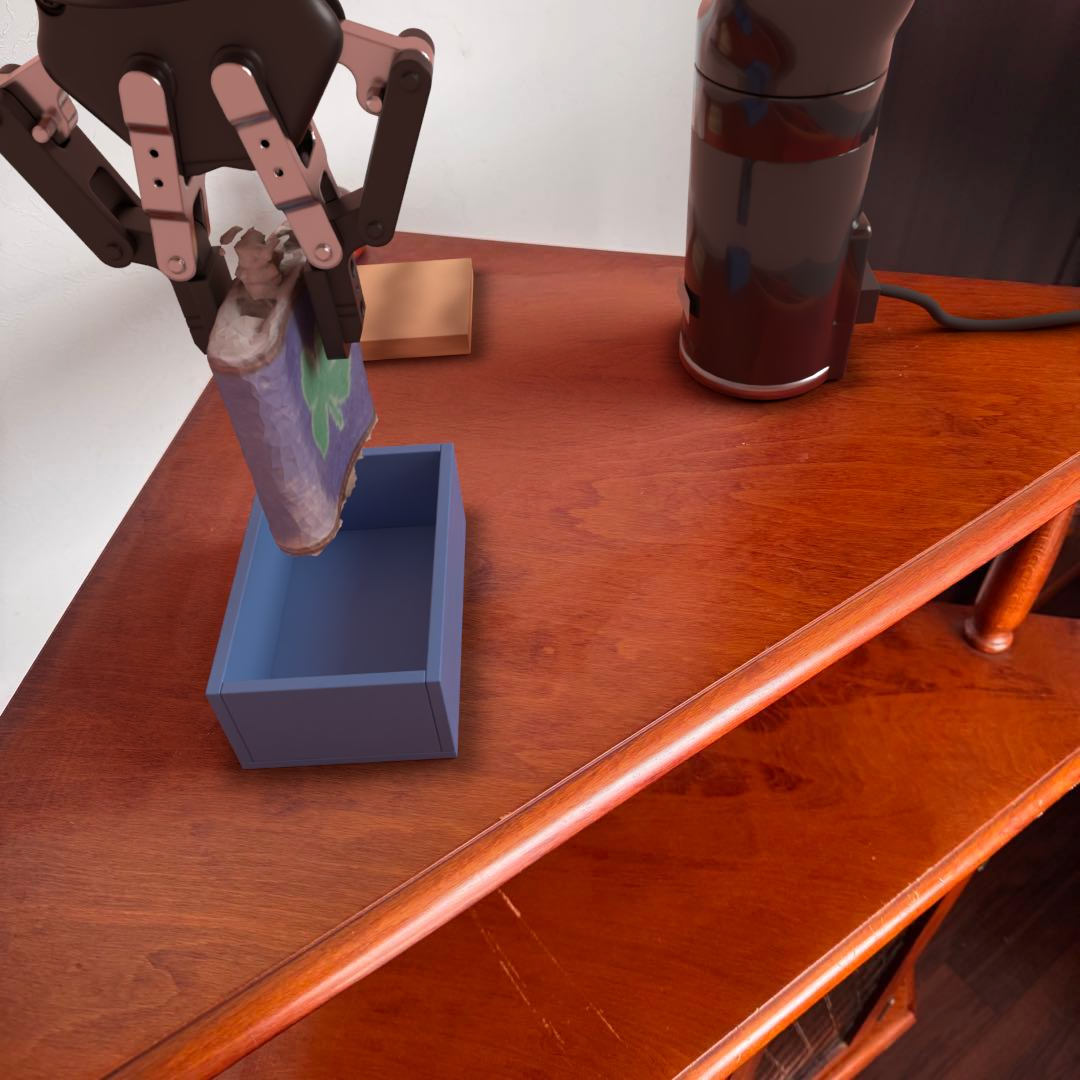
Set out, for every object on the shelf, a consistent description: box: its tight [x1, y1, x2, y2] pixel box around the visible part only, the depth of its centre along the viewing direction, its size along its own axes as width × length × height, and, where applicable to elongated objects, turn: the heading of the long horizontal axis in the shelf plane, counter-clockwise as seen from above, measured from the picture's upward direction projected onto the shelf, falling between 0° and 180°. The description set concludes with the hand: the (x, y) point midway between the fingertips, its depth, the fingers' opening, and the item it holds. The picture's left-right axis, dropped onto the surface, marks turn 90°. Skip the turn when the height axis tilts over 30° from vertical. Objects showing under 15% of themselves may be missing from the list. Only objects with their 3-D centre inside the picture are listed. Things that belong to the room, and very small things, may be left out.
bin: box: [204, 441, 467, 770], centre depth 46 cm, size 9×14×6 cm, turn 1°
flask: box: [206, 219, 379, 557], centre depth 37 cm, size 9×3×11 cm, turn 173°
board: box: [356, 257, 474, 362], centre depth 66 cm, size 9×9×2 cm
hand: (289, 348), depth 36 cm, fingers closed on flask, 3 cm apart
